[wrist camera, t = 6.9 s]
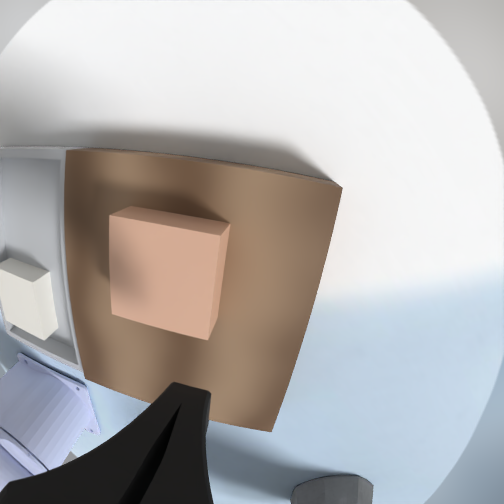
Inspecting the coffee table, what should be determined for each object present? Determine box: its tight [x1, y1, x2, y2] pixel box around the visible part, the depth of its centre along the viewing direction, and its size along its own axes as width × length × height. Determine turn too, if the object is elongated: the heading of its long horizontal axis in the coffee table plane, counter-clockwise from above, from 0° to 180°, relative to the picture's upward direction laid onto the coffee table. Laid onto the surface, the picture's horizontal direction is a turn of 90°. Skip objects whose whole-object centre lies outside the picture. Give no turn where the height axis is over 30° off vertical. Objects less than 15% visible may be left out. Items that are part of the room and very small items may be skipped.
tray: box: [0, 146, 86, 373], centre depth 18 cm, size 10×16×2 cm, turn 171°
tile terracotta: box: [109, 206, 230, 340], centre depth 14 cm, size 5×5×2 cm
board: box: [64, 148, 343, 432], centre depth 17 cm, size 14×16×2 cm
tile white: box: [0, 257, 58, 340], centre depth 19 cm, size 5×5×2 cm
